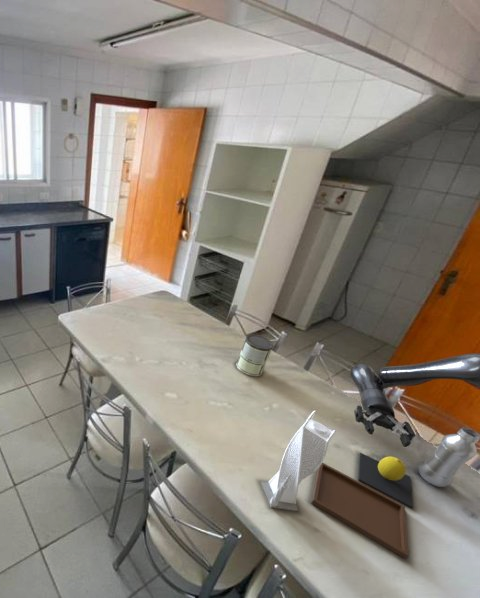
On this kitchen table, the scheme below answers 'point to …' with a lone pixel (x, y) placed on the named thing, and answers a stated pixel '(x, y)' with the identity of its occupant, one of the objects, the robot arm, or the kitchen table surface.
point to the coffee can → (254, 355)
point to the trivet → (384, 481)
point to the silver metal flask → (449, 457)
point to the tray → (362, 509)
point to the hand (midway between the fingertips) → (388, 438)
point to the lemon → (391, 468)
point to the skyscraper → (298, 463)
